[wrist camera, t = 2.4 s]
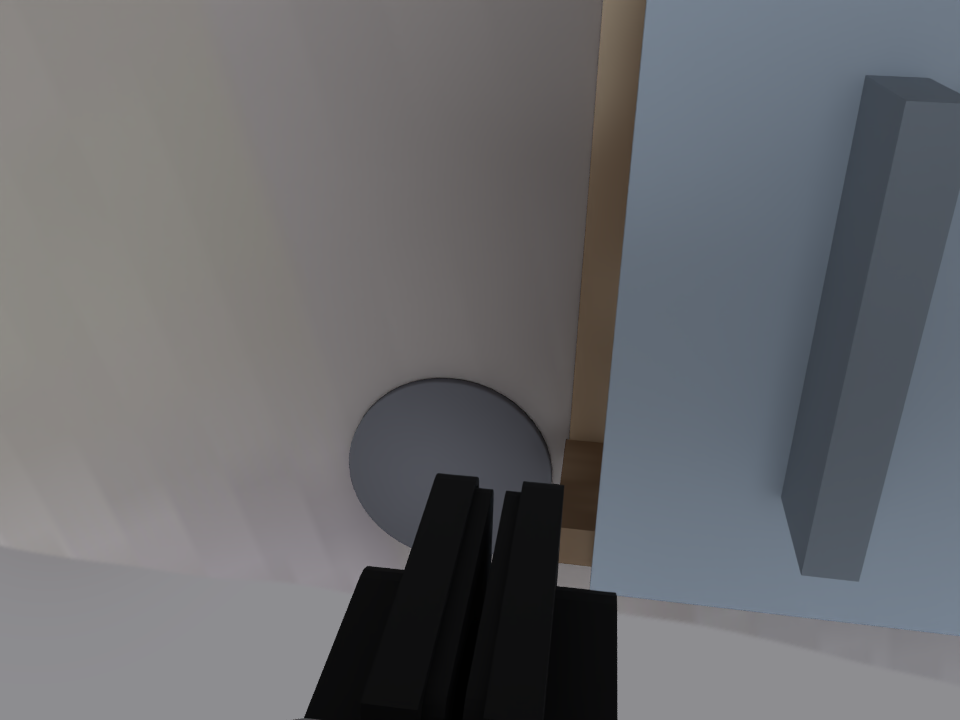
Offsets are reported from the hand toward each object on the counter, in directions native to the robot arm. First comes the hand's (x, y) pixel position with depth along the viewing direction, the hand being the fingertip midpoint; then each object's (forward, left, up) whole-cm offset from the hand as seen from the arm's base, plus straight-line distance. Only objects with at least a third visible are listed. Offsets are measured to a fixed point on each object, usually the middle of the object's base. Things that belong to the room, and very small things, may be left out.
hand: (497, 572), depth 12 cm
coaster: (+4, +9, -17) cm, 20 cm away
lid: (-6, 0, -11) cm, 13 cm away
